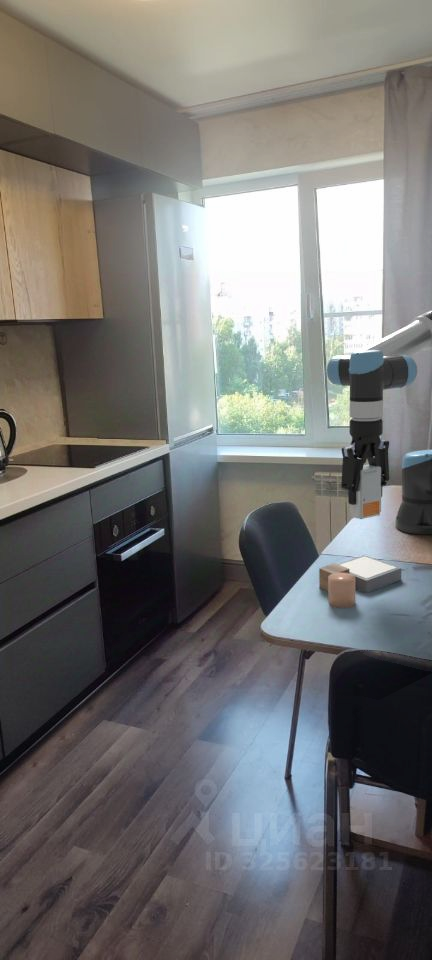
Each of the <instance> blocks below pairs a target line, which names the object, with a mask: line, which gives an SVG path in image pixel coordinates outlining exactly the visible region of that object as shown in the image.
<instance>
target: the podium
mask: <svg viewBox="0 0 432 960" xmlns="http://www.w3.org/2000/svg"><path fill="white" fill-rule="evenodd" d="M337 564H338V565H341V566H343V567H346V568H349V573H350V574H352V575H354V576H355V590H358V591H361V592H363V593H366V594H368V593H369V592H372V591H375V590H377V589H380V588H383V587H385V586H389V585H390V584H393V583H395V582H399V581H401V580H402V567H399V566H397V565H394V564H391V563H387V562H385V561H383V560H379V559H376V558H374V557H371V556H368V555H365V554H364V555H361V556H357V557H355V558H352V559H349V560H346V561H343V562H340V563H337Z"/></svg>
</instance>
